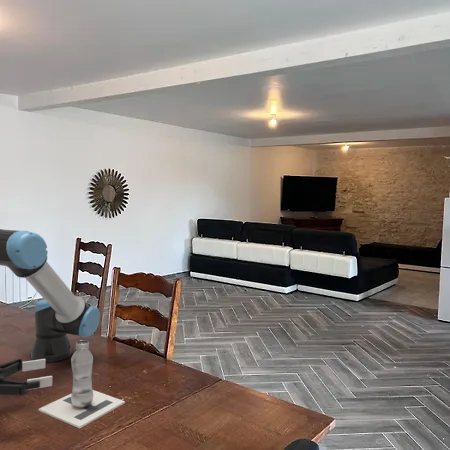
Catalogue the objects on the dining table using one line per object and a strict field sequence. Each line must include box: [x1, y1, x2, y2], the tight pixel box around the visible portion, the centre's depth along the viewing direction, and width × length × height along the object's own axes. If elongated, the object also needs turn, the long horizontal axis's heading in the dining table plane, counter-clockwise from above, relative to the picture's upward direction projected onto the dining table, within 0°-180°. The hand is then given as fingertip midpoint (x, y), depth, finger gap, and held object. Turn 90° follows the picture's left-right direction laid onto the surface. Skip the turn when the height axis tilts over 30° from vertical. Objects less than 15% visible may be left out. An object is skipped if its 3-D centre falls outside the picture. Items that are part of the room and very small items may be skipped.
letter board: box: [38, 389, 126, 430], centre depth 137 cm, size 18×18×1 cm
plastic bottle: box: [70, 339, 94, 408], centre depth 136 cm, size 6×7×20 cm
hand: (48, 371), depth 132 cm, fingers open, 13 cm apart
